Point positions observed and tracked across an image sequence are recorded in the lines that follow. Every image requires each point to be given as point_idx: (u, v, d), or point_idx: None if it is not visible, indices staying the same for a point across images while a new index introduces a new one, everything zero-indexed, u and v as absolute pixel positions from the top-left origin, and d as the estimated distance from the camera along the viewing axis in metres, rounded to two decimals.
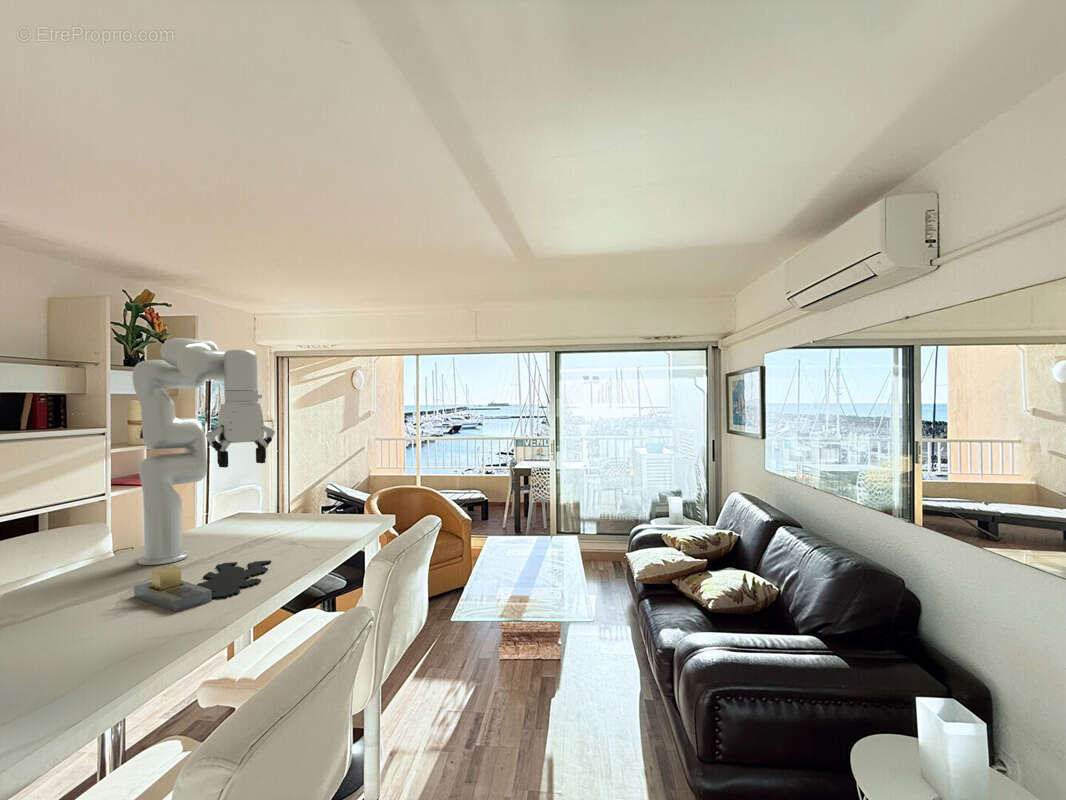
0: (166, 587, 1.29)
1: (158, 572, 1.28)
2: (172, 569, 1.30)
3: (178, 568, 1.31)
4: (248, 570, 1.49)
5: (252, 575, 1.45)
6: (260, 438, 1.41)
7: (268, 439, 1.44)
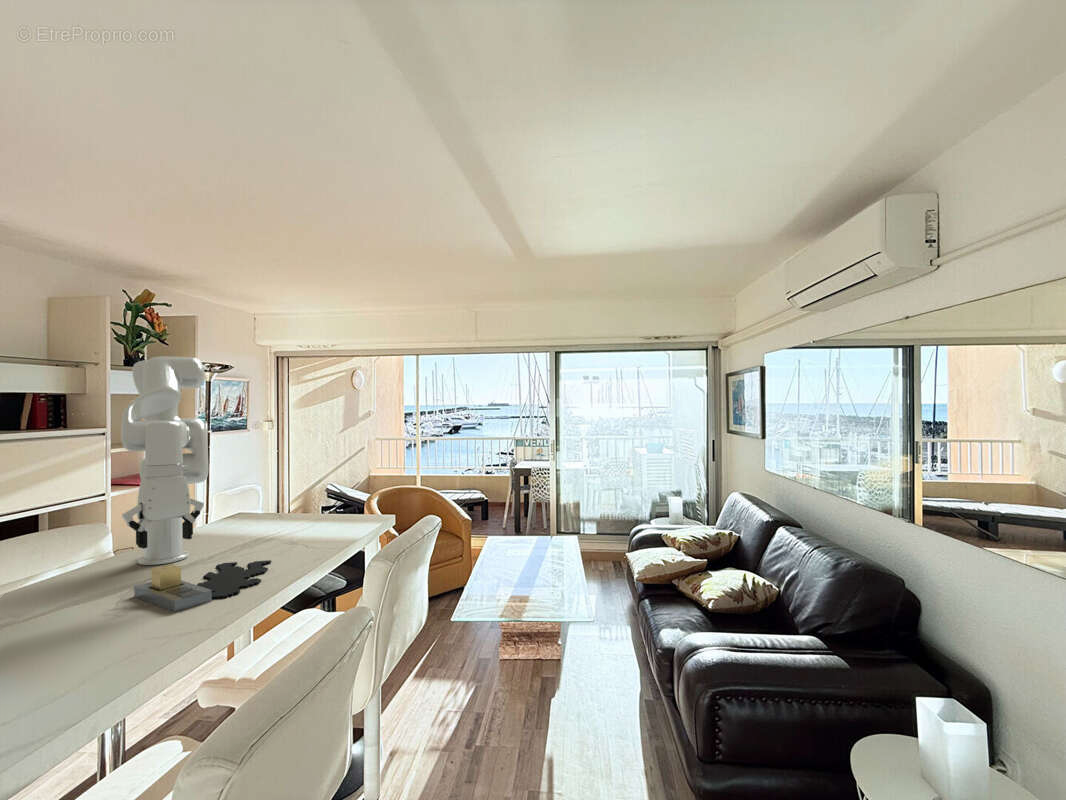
0: (166, 587, 1.29)
1: (158, 572, 1.28)
2: (172, 569, 1.30)
3: (178, 568, 1.31)
4: (248, 570, 1.48)
5: (252, 575, 1.45)
6: (185, 513, 1.33)
7: (196, 513, 1.36)
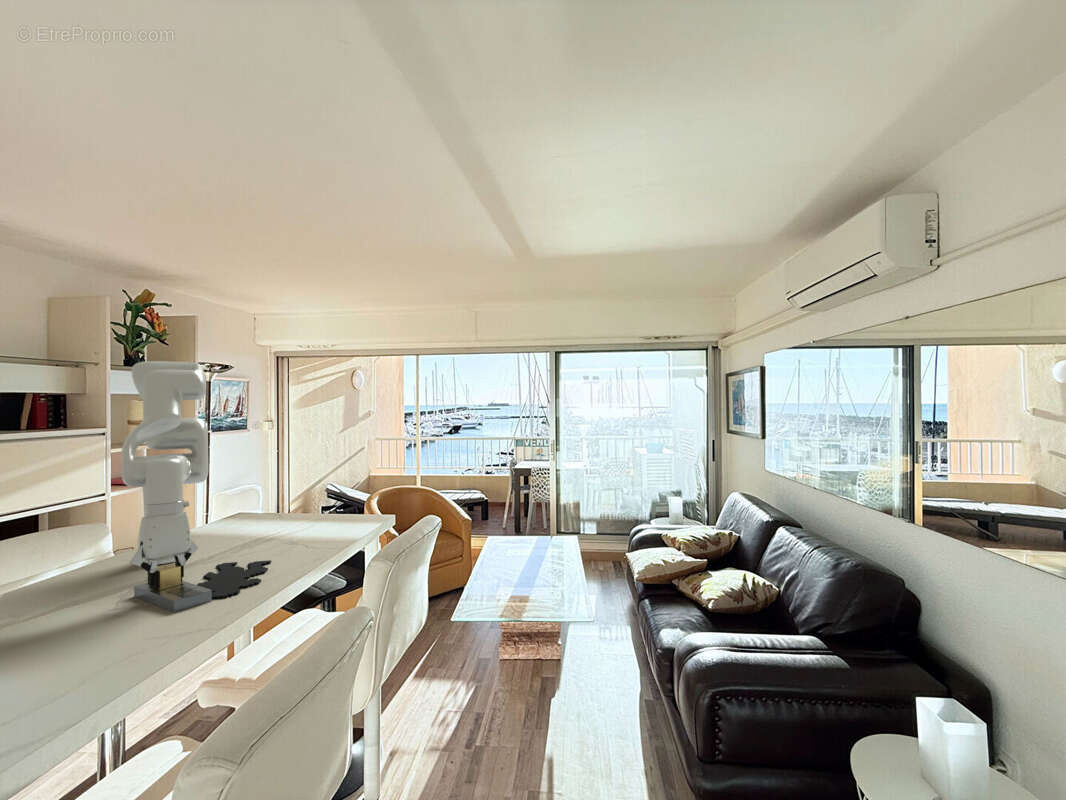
0: (166, 587, 1.29)
1: (158, 572, 1.28)
2: (172, 569, 1.30)
3: (178, 568, 1.31)
4: (248, 570, 1.48)
5: (252, 575, 1.45)
6: (186, 550, 1.33)
7: (187, 555, 1.34)
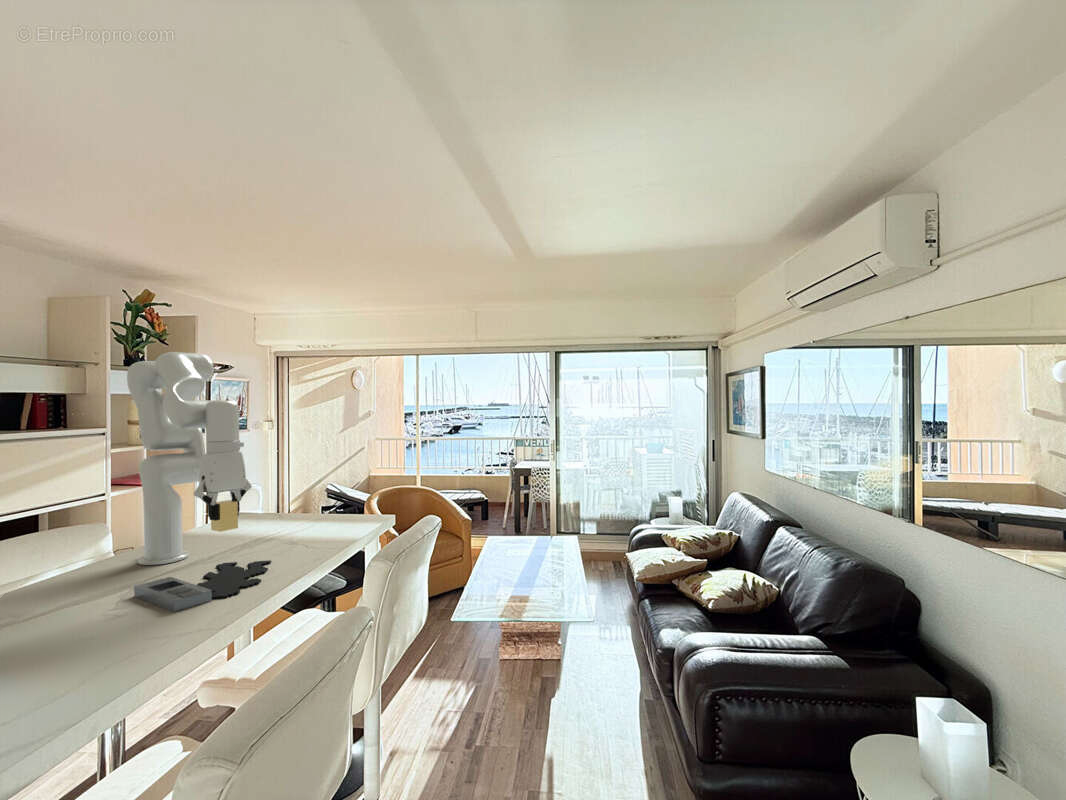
0: (225, 519, 1.39)
1: (218, 505, 1.38)
2: (230, 503, 1.40)
3: (235, 502, 1.41)
4: (248, 570, 1.48)
5: (252, 575, 1.45)
6: (242, 486, 1.43)
7: (242, 492, 1.44)
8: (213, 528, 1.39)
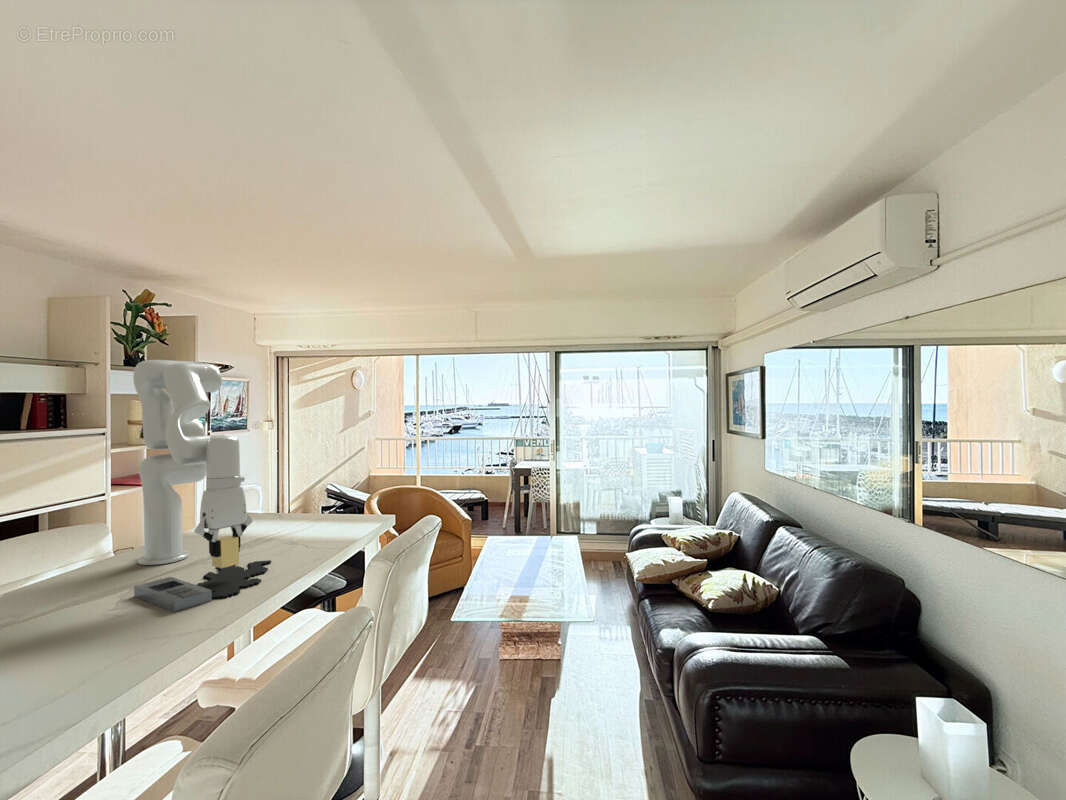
0: (226, 555, 1.39)
1: (219, 541, 1.38)
2: (231, 539, 1.40)
3: (236, 538, 1.41)
4: (248, 570, 1.48)
5: (252, 575, 1.45)
6: (242, 522, 1.43)
7: (243, 527, 1.44)
8: (214, 564, 1.39)
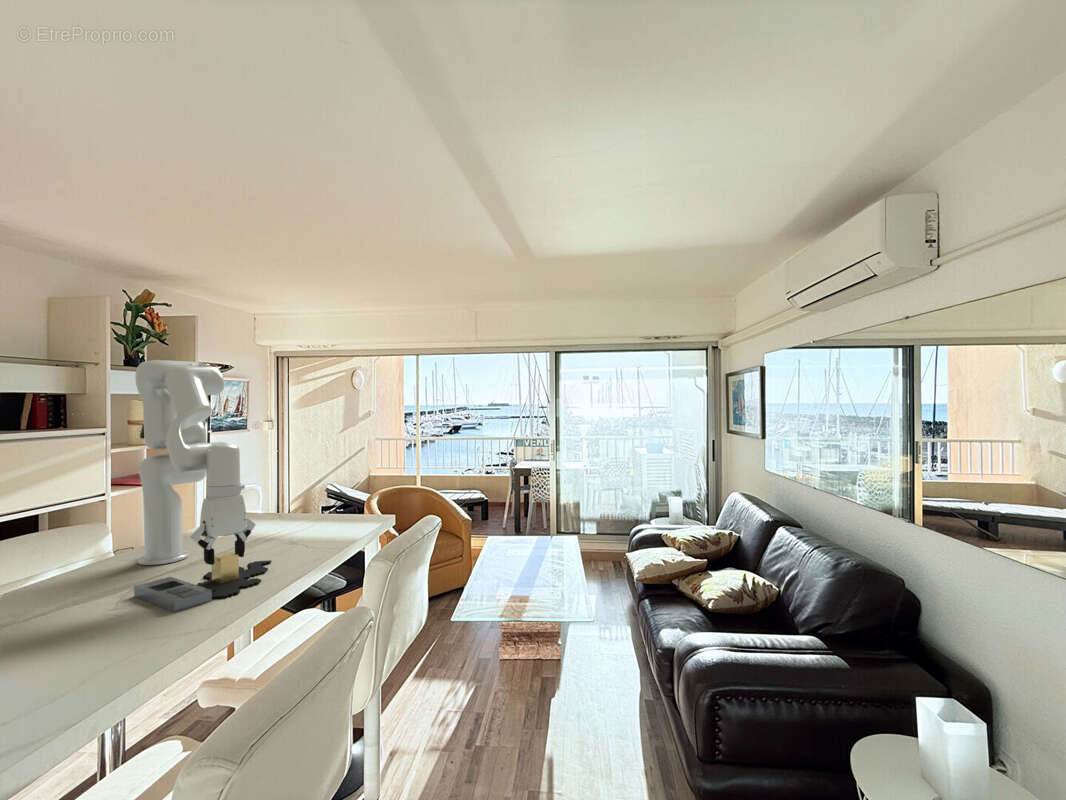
0: (226, 573, 1.39)
1: (219, 559, 1.38)
2: (231, 557, 1.40)
3: (236, 556, 1.41)
4: (248, 570, 1.48)
5: (252, 575, 1.45)
6: (242, 530, 1.43)
7: (247, 532, 1.45)
8: None
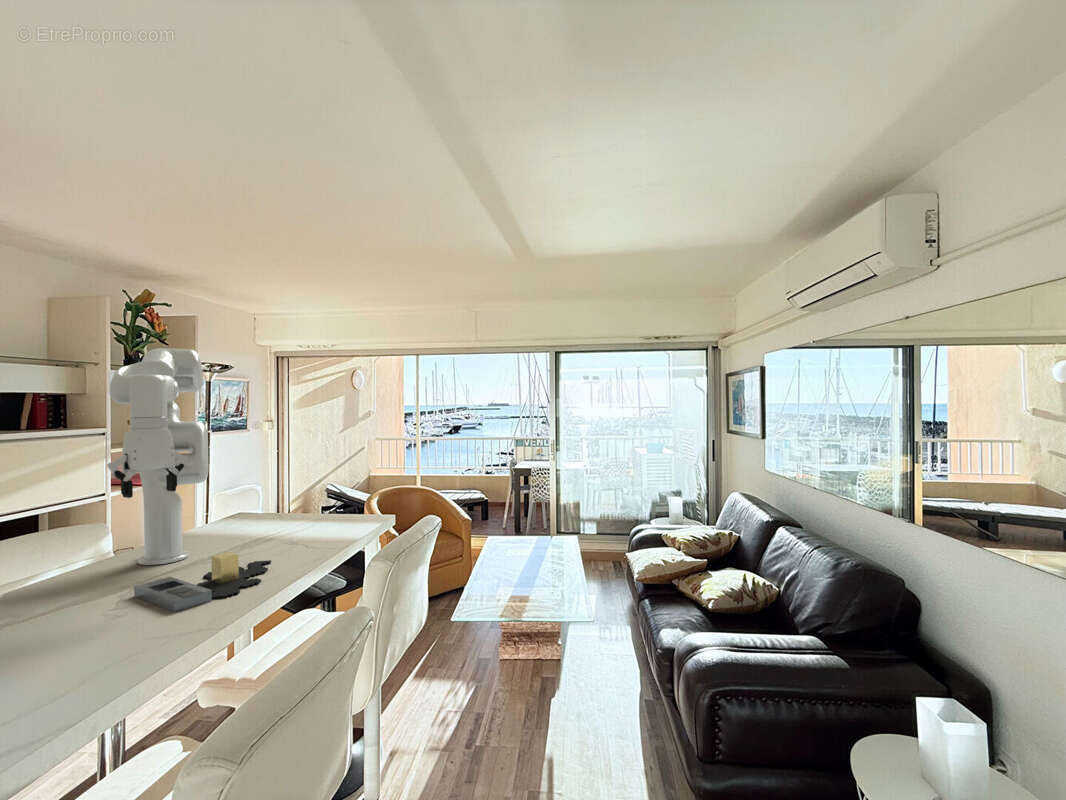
0: (226, 573, 1.39)
1: (219, 559, 1.38)
2: (231, 557, 1.40)
3: (236, 556, 1.41)
4: (248, 570, 1.48)
5: (252, 575, 1.45)
6: (170, 465, 1.36)
7: (180, 466, 1.39)
8: (214, 581, 1.40)
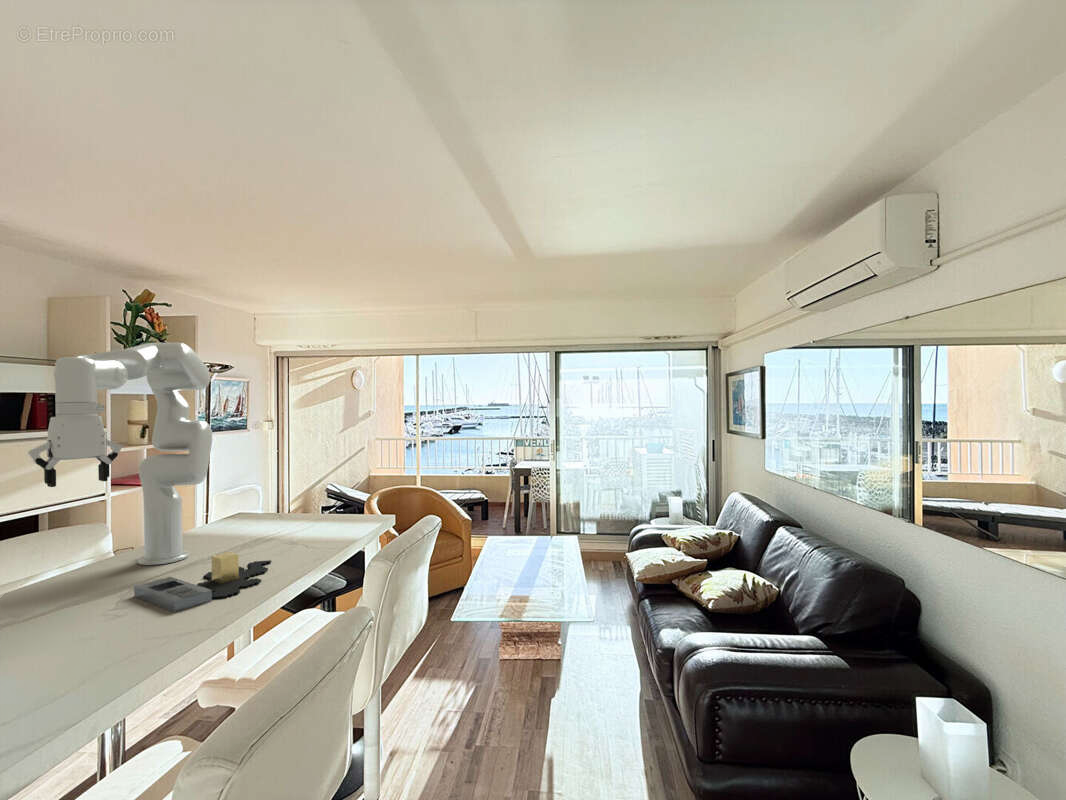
0: (226, 573, 1.39)
1: (219, 559, 1.38)
2: (231, 557, 1.40)
3: (236, 556, 1.41)
4: (248, 570, 1.48)
5: (252, 575, 1.45)
6: (100, 454, 1.29)
7: (113, 455, 1.32)
8: (214, 581, 1.40)
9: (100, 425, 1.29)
